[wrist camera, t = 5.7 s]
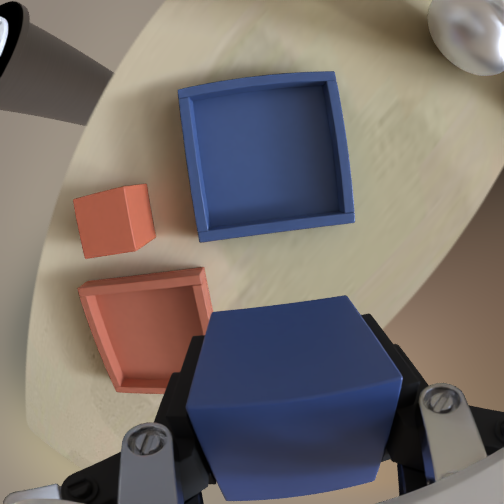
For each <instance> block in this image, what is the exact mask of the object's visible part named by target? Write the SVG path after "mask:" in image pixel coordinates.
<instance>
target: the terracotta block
mask: <svg viewBox="0 0 504 504" xmlns="http://www.w3.org/2000/svg"><path fill="white" fill-rule="evenodd" d="M73 203H74V209H75V214H76V220H77V225H78V230H79V234H80V239H81V244H82V248H83V252H84V256H85V259H88V258H94V257H101V256H107V255H114V254H120V253H127V252H133V251H137V250H138V249H140V248H141V247H143V246H144V245H145V244H147V243H148V242H150V241H151V240H153V239H154V238H156V234H155V229H154V224H153V218H152V213H151V207H150V201H149V195H148V189H147V184H139V185H130V186H123V187H119V188H114V189H110V190H106V191H102V192H98V193H94V194H91V195H87V196H83V197H80V198H76V199H73Z"/></svg>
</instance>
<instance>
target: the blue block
mask: <svg viewBox="0 0 504 504" xmlns="http://www.w3.org/2000/svg"><path fill="white" fill-rule="evenodd" d="M402 380H403V377H402V375H401V373H400V372H399V370H398V369H397V367H396V366H395V364H394V363H393V361H392V360H391V358H390V357H389V355H388V354H387V352H386V351H385V349H384V348H383V346H382V345H381V343H380V342H379V341H378V339H377V338H376V336H375V335H374V333H373V332H372V330H371V329H370V328H369V326H368V325H367V323H366V322H365V320H364V319H363V318H362V316H361V315H360V313H359V312H358V311H357V309H356V308H355V306H354V305H353V304H352V302H351V301H350V299H349V298H348V297H347V296H345V295H344V296H338V297H331V298H325V299H318V300H311V301H304V302H296V303H289V304H281V305H273V306H265V307H256V308H247V309H238V310H228V311H218V312H212V313H211V315H210V319H209V323H208V326H207V330H206V333H205V337H204V340H203V344H202V348H201V351H200V355H199V359H198V362H197V366H196V370H195V373H194V377H193V381H192V384H191V388H190V392H189V396H188V399H187V403H186V410H187V413H188V415H189V418H190V420H191V423H192V426H193V428H194V431H195V433H196V436H197V438H198V440H199V443H200V445H201V448H202V450H203V452H204V455H205V457H206V459H207V462H208V464H209V466H210V468H211V471H212V473H213V475H214V477H215V479H216V481H217V483H218V486H219V488H220V490H221V492H222V494H223V496H224V498H225V500H226V501H248V500H249V501H250V500H267V499H279V498H288V497H296V496H304V495H311V494H317V493H323V492H329V491H333V490H339V489H343V488H348V487H352V486H356V485H360V484H364V483H368V482H372V481H374V480H375V478H376V475H377V472H378V469H379V466H380V463H381V460H382V457H383V454H384V451H385V448H386V444H387V441H388V438H389V434H390V431H391V427H392V423H393V419H394V416H395V412H396V407H397V403H398V399H399V394H400V390H401V385H402Z"/></svg>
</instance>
